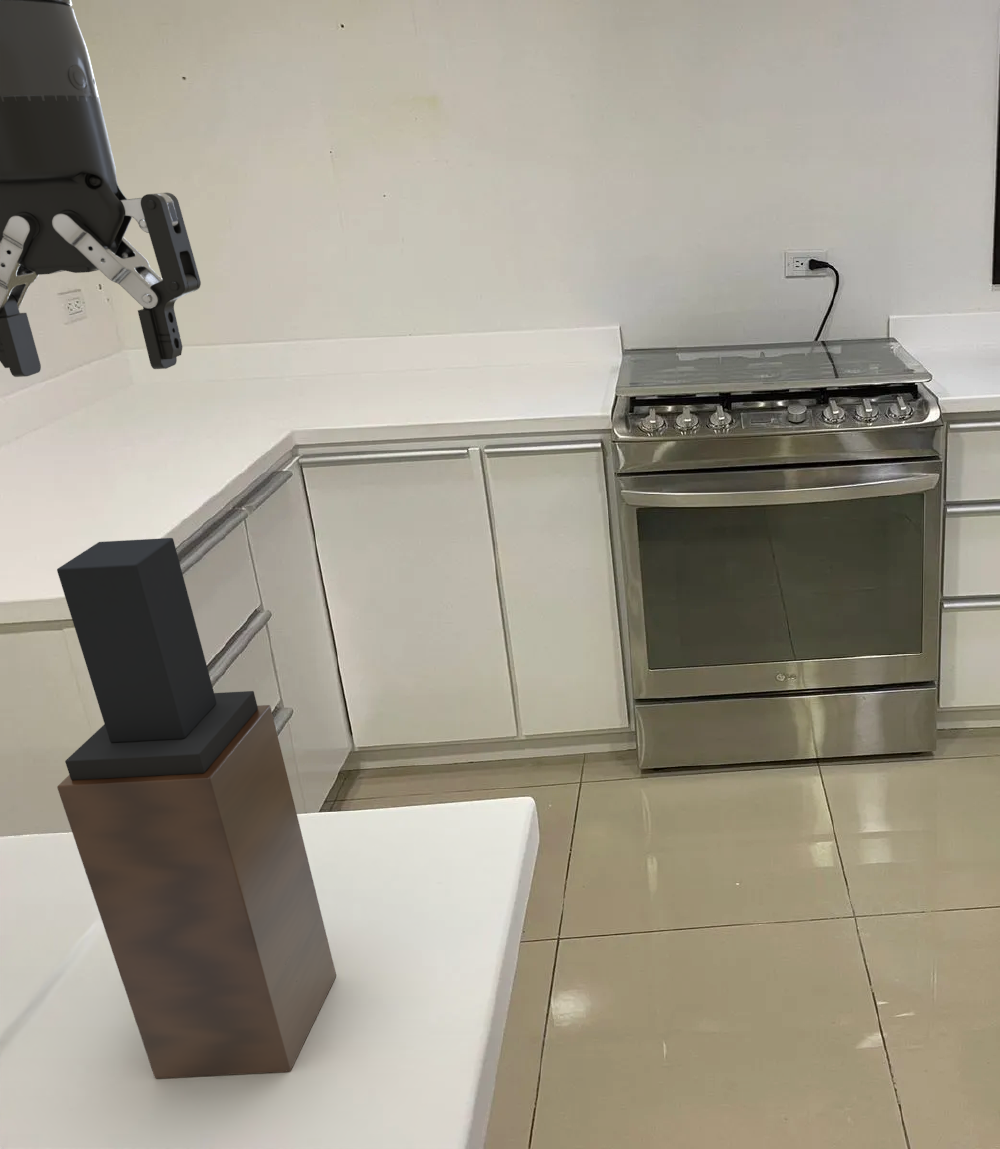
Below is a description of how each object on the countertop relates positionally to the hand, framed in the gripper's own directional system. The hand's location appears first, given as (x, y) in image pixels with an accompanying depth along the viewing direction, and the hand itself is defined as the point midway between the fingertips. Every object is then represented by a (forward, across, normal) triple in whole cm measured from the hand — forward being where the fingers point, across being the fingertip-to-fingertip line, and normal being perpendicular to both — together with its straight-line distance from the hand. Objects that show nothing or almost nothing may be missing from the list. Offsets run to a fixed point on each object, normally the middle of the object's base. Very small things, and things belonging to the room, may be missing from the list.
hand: (96, 370), depth 71 cm
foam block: (+16, -8, +17) cm, 25 cm away
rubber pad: (+18, -8, +17) cm, 26 cm away
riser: (+38, -8, +17) cm, 42 cm away
